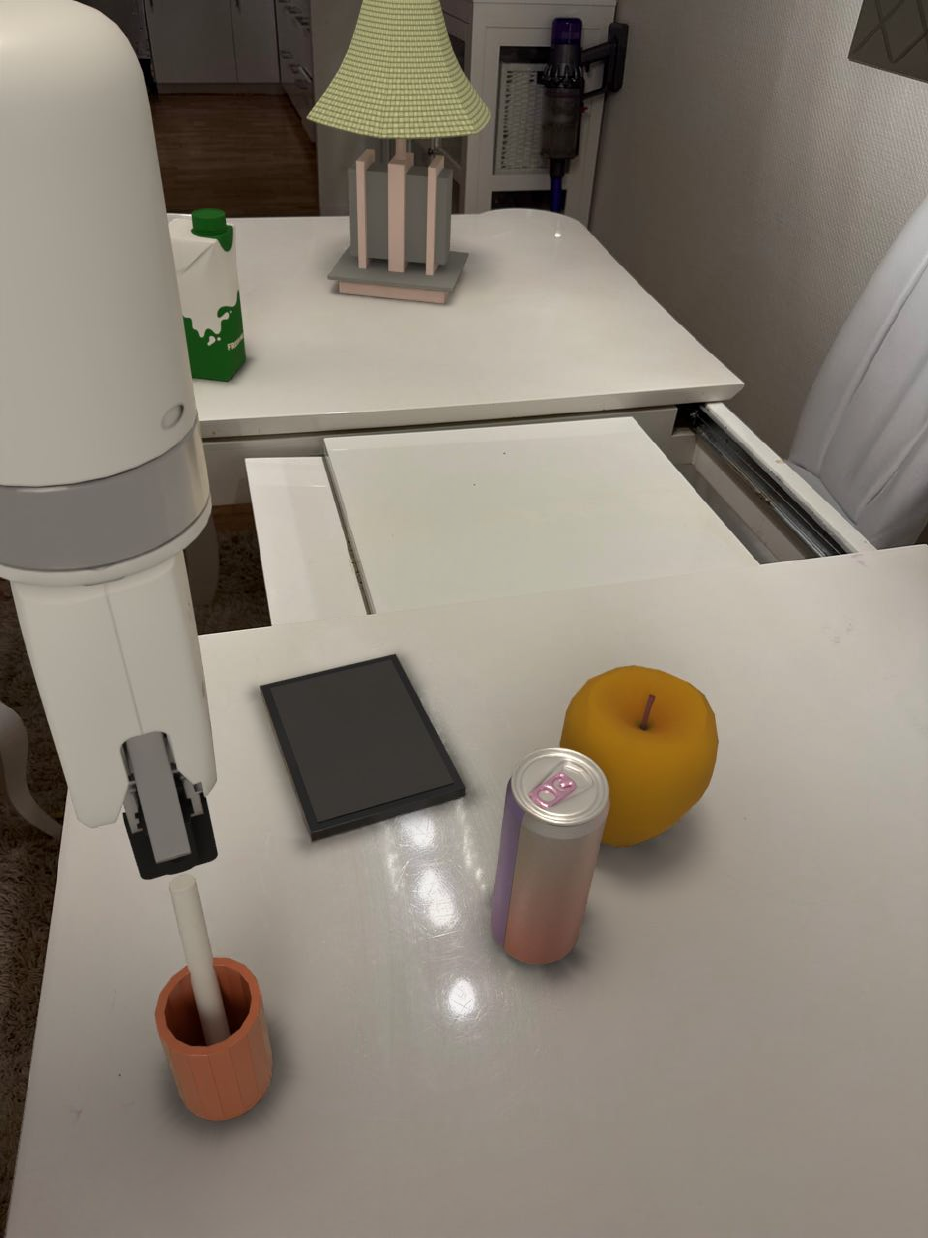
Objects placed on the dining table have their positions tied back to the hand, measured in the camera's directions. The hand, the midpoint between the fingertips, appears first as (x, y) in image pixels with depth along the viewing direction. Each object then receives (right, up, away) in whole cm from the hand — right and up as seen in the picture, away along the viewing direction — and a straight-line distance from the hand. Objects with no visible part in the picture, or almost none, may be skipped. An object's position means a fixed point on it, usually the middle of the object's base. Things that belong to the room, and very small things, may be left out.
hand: (174, 838), depth 40 cm
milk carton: (-21, +43, +84) cm, 97 cm away
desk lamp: (+2, +65, +111) cm, 129 cm away
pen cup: (-1, -17, +14) cm, 22 cm away
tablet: (+4, 0, +34) cm, 34 cm away
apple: (+24, -6, +29) cm, 39 cm away
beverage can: (+17, -11, +22) cm, 30 cm away
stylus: (-1, -16, +13) cm, 21 cm away
